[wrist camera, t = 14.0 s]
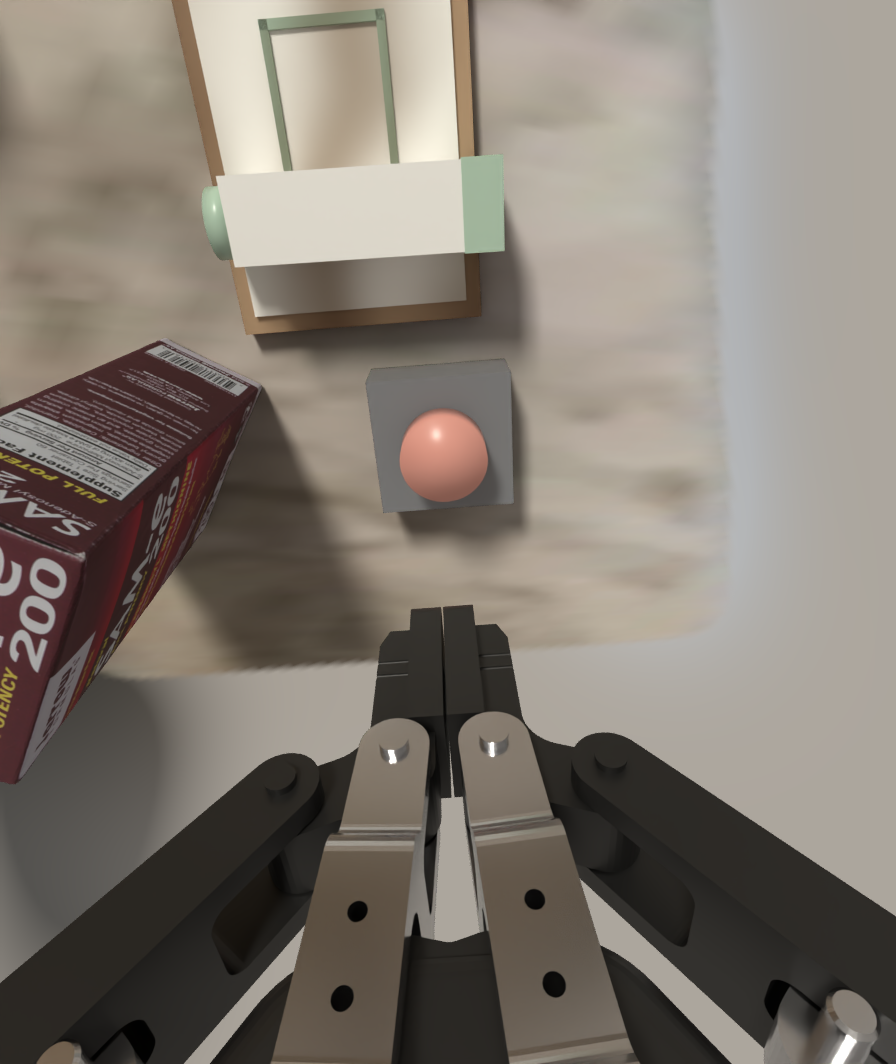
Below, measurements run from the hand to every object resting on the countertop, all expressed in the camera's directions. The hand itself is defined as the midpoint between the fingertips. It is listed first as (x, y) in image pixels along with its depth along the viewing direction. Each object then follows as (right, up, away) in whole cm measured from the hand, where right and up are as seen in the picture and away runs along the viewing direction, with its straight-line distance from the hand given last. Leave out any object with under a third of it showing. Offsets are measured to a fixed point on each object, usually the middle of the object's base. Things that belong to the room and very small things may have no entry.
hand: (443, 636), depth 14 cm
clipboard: (-4, +18, +8) cm, 20 cm away
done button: (0, +6, +11) cm, 13 cm away
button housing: (0, +8, +14) cm, 16 cm away
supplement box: (-12, +7, +14) cm, 20 cm away
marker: (-8, +14, +7) cm, 18 cm away
